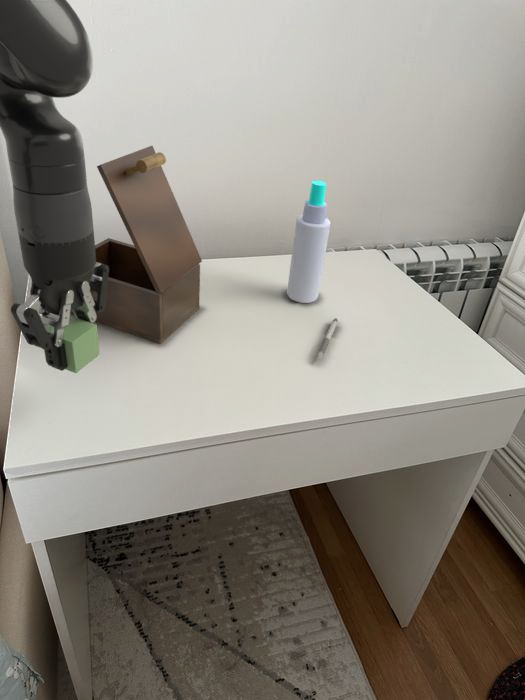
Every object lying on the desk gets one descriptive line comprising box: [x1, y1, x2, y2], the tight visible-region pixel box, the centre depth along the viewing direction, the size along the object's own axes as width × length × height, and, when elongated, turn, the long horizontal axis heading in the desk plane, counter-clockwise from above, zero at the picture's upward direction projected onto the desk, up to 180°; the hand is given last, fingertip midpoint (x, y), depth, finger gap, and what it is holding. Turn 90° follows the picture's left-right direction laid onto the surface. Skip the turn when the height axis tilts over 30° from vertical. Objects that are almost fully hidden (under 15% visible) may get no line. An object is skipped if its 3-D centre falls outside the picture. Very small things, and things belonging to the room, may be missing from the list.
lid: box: [96, 145, 203, 294], centre depth 81 cm, size 20×13×5 cm
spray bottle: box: [286, 180, 331, 304], centre depth 97 cm, size 6×6×22 cm
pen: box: [316, 317, 339, 362], centre depth 90 cm, size 1×14×1 cm, turn 161°
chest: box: [70, 237, 201, 345], centre depth 91 cm, size 19×13×9 cm
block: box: [43, 315, 100, 374], centre depth 65 cm, size 4×4×4 cm
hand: (72, 356), depth 66 cm, fingers closed on block, 4 cm apart
